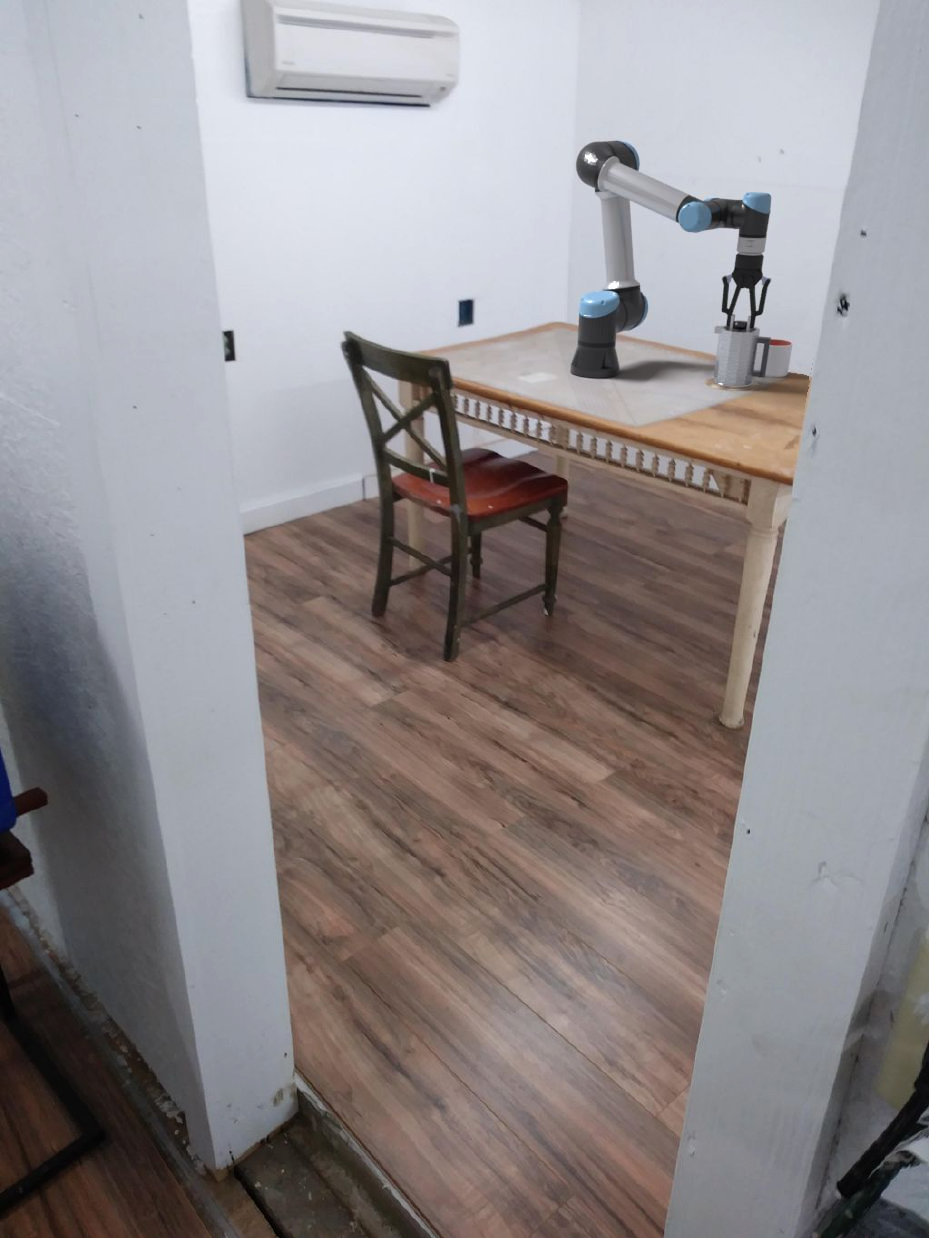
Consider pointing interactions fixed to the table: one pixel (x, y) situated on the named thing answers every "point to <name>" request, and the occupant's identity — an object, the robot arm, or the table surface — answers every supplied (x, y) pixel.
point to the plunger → (740, 325)
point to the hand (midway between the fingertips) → (738, 338)
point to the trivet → (711, 384)
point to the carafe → (738, 357)
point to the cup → (775, 358)
